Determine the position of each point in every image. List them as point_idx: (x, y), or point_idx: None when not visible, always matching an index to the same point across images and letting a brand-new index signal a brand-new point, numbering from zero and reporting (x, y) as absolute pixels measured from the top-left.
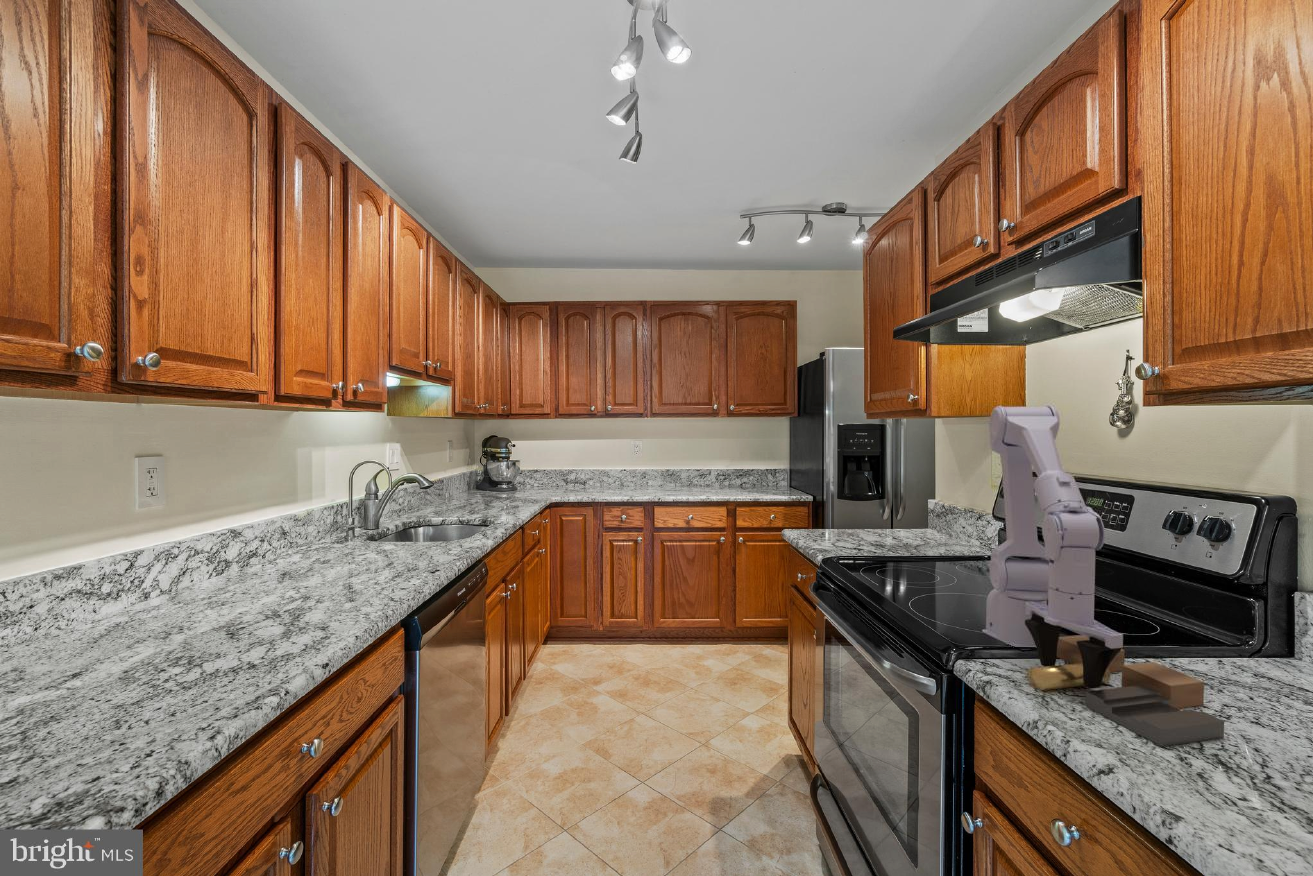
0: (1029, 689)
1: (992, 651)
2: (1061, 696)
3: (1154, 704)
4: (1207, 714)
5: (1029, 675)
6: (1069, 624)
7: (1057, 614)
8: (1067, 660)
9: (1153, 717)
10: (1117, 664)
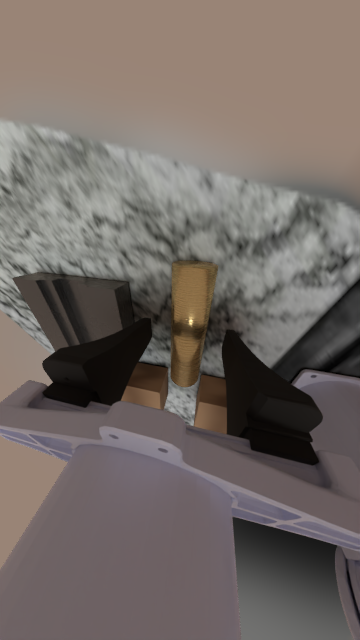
0: (201, 248)
1: (350, 332)
2: (166, 281)
3: None
4: None
5: (211, 265)
6: (81, 432)
7: (106, 498)
8: None
9: (58, 307)
10: (196, 403)
